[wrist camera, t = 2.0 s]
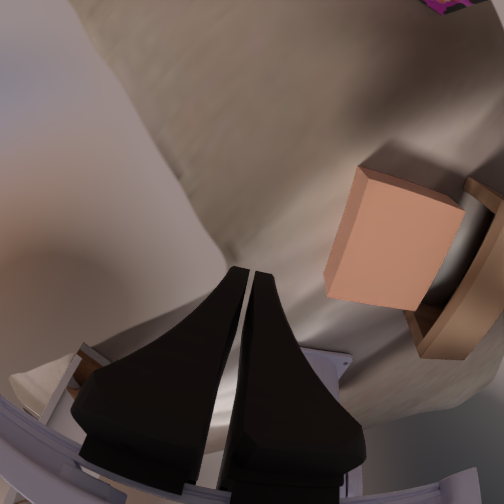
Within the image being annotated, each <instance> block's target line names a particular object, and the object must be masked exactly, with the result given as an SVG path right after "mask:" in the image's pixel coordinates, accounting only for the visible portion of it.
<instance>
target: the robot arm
mask: <svg viewBox="0 0 504 504" xmlns="http://www.w3.org/2000/svg"><path fill="white" fill-rule="evenodd" d="M249 271H250V269H245V268H240V267H236V266H233V267H231V268H230V269H229V271H228V272H227V274H226V275H225V277H224V278H223V280H222V281H221V282H220V283H219V285H218V286H217V287H216V288H215V289H214V290H213V291H212V293H211V294H210V295H209V296H208V297H207V298H206V299H205V300H204V301H203V302H202V303H201V304H200V305H199V306H198V307H197V308H196V309H195V310H194V311H193V312H192V313H190V314H189V315H188V316H187V317H186V318H185V319H183V320H182V321H181V322H180V323H178V324H177V325H176V326H175V327H173V328H172V329H171V330H169V331H168V332H166V333H165V334H163V335H162V336H161V337H159V338H158V339H156V340H155V341H153V342H151V343H150V344H148V345H146V346H144V347H143V348H141V349H139V350H137V351H135V352H134V353H132V354H130V355H128V356H126V357H124V358H122V359H120V360H118V361H115V362H113V363H111V364H108V365H106V366H104V367H101V368H99V369H96V370H94V371H93V372H92V373H91V375H90V376H89V377H88V379H87V380H86V381H85V383H84V384H83V386H82V387H81V389H80V391H79V393H78V395H77V397H76V398H75V400H74V402H73V404H72V406H71V408H70V412H71V415H72V417H73V418H74V420H75V421H76V422H77V423H78V425H79V426H80V427H81V428H82V429H83V431H84V432H85V433H86V434H87V435H86V438H85V440H84V442H83V445H81V444H79V443H77V442H75V441H73V440H71V439H69V438H67V437H65V436H64V435H62V434H60V433H58V432H56V431H55V430H53V429H51V428H49V427H48V426H46V425H44V424H43V423H41V422H40V421H38V420H36V419H35V418H33V417H32V416H30V415H29V414H27V413H26V412H24V411H23V410H21V409H20V408H18V407H17V406H16V405H14V404H13V403H11V402H10V401H8V400H7V399H6V398H5V397H3V396H2V395H1V394H0V476H1V477H2V478H3V479H4V480H5V481H6V482H7V483H8V484H9V485H11V486H12V487H13V488H14V489H15V490H16V491H17V492H19V493H20V494H21V495H22V496H24V497H25V498H26V499H27V500H29V501H30V502H31V503H32V504H125V502H126V499H127V494H125V493H123V492H121V491H119V490H117V489H115V488H114V487H112V486H111V485H110V484H108V483H105V482H104V481H101V480H99V479H97V478H95V477H93V476H91V475H89V474H88V473H86V472H84V471H82V468H81V466H82V467H84V468H86V469H89V470H91V471H93V472H95V473H97V474H99V475H102V476H104V477H106V478H108V479H111V480H113V481H116V482H118V483H121V484H123V485H126V486H128V487H131V488H134V489H136V490H139V491H142V492H145V493H148V494H151V495H154V496H158V497H161V498H165V499H168V500H171V501H175V502H179V503H183V504H481V495H480V487H479V481H478V475H477V469H476V467H474V468H471V469H468V470H465V471H462V472H459V473H456V474H454V475H451V476H449V477H447V478H445V479H443V480H441V481H440V482H437V483H433V484H429V485H425V486H421V487H417V488H412V489H407V490H402V491H396V492H390V493H383V494H376V495H368V496H362V469H361V464H362V463H363V462H364V461H365V460H366V445H365V439H364V434H363V430H362V426H361V425H360V424H359V423H358V422H357V421H356V420H355V419H354V418H353V417H352V416H351V415H350V414H349V413H348V412H347V411H346V410H345V409H344V408H343V407H342V406H341V405H340V397H339V384H338V380H339V379H340V377H341V376H342V375H343V373H344V372H345V371H346V369H347V368H348V366H349V365H350V364H351V362H352V361H353V356H352V355H350V354H343V353H335V352H328V351H321V350H315V349H308V348H302V347H300V346H299V345H298V343H297V341H296V339H295V337H294V335H293V332H292V330H291V328H290V326H289V323H288V321H287V319H286V316H285V313H284V311H283V308H282V305H281V302H280V299H279V296H278V293H277V289H276V285H275V280H274V277H273V275H272V274H268V273H264V272H259V271H255V276H254V280H253V284H252V289H251V293H250V297H249V301H248V306H247V310H246V315H245V320H244V325H243V330H242V336H241V347H240V358H239V369H238V380H237V388H236V395H235V400H234V405H233V410H232V415H231V420H230V425H229V430H228V435H227V440H226V444H225V449H224V454H223V459H222V463H221V468H220V473H219V477H218V482H217V486H216V490H215V489H210V488H205V487H200V486H196V481H197V480H198V477H199V472H200V468H201V463H202V459H203V454H204V449H205V445H206V440H207V436H208V431H209V427H210V422H211V418H212V413H213V409H214V404H215V400H216V396H217V391H218V387H219V384H220V380H221V377H222V374H223V371H224V368H225V365H226V362H227V359H228V356H229V353H230V350H231V347H232V344H233V341H234V338H235V335H236V331H237V327H238V322H239V318H240V313H241V308H242V304H243V299H244V295H245V290H246V286H247V281H248V276H249Z"/></svg>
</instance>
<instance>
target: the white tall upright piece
mask: <svg viewBox="0 0 504 504" xmlns="http://www.w3.org/2000/svg"><path fill="white" fill-rule="evenodd" d="M111 363H112V362H110V361H109V360H107V359H106V358H104V357H103V356H102V355H100V354H99V353H97V352H96V351H95V350H93V349H92V348H91V347H89V346H88V345H87V344H85V343H83V344H82V346H81V347H80V349H79V350H78V352H77V353H76V355H75V357H74V358H73V360H72V361H71V363H70V365H69V366H68V368H67V370H66V371H65V373H64V375H63V377H62V378H61V380H60V382H59V384H58V385H57V387H56V389H55V391H54V392H53V394H52V396H51V398H50V400H49V402H48V404H47V405H46V407H45V409H44V411H43V413H42V415H41V417H40V419H39V421H40V422H41V423H43V424H44V425H46V426H48V427H49V428H51V429H53V430H55V431H56V432H58V433H60V434H62V435H64V436H65V437H67V438H69V439H71V440H73V441H75V442H77V443H79V444H81V445H83V442H84V440H85V438H86V435H87V434H86V433H85V432H84V431H83V429H82V428H81V427H80V426H79V425H78V423H77V422H76V421H75V420H74V418H73V417H72V415H71V412H70V408H71V406H72V404H73V402H74V400H75V398H76V397H77V395H78V393H79V391H80V389H81V387H82V386H83V384H84V383H85V381H86V380H87V379H88V377H89V376H90V375H91V373H92V372H93V371H94V370H96V369H99V368H101V367H104V366H106V365H108V364H111ZM81 468H82V471H84V472H86V473H88V474H89V475H91V476H93V477H95V478H97V479H98V478H99V476H100V475H99V474H97V473H95V472H93V471H91V470H89V469H86V468H84V467H82V466H81ZM3 504H32V503H31V502H30V501H29V500H27V499H26V498H25V497H24V496H22V495H21V494H20V493H19V492H17V491H16V490H15V489H14V488H13V487H12V486H11V485H10V486H9V489H8V492H7V495H6V497H5V500H4V503H3Z"/></svg>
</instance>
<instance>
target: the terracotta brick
mask: <svg viewBox="0 0 504 504" xmlns="http://www.w3.org/2000/svg"><path fill="white" fill-rule="evenodd" d="M465 212H466V211H465V210H464V209H462V208H461V207H460V206H459V205H458V204H457V203H455V202H454V201H453V200H452V199H451V198H450V197H448V196H447V195H444V194H442V193H439V192H436V191H434V190H431V189H428V188H426V187H423V186H420V185H417V184H414V183H411V182H408V181H405V180H402V179H399V178H396V177H393V176H390V175H387V174H383V173H380V172H377V171H374V170H370V169H367V168H363V167H360V166H357V170H356V173H355V177H354V180H353V184H352V187H351V191H350V194H349V197H348V201H347V204H346V207H345V210H344V214H343V217H342V220H341V223H340V226H339V229H338V232H337V235H336V238H335V241H334V244H333V247H332V250H331V253H330V256H329V259H328V262H327V264H326V267H325V270H324V273H323V274H324V281H325V288H326V295H327V297H329V298H335V299H341V300H347V301H353V302H359V303H365V304H371V305H377V306H384V307H390V308H397V309H403V310H410V311H416V309H417V308H418V306H419V304H420V303H421V301H422V299H423V298H424V296H425V294H426V292H427V291H428V289H429V287H430V285H431V283H432V282H433V280H434V278H435V276H436V274H437V272H438V270H439V269H440V267H441V265H442V263H443V261H444V259H445V257H446V255H447V253H448V251H449V249H450V246H451V244H452V242H453V240H454V238H455V236H456V233H457V231H458V229H459V227H460V224H461V222H462V220H463V217H464V215H465Z"/></svg>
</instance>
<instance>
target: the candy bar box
mask: <svg viewBox="0 0 504 504" xmlns="http://www.w3.org/2000/svg"><path fill="white" fill-rule="evenodd" d="M419 1H421V2H423V3H424V4H426V5H428V6H429V7H431V8H432V9H434V10H435V11H437V12H438V13H440V14H441V15H446V14H448V13H451V12H454V11H457V10H460V9H462V8H465V7H468V6H471V5H474V4H477V3H480V2H483V1H487V0H419Z"/></svg>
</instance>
